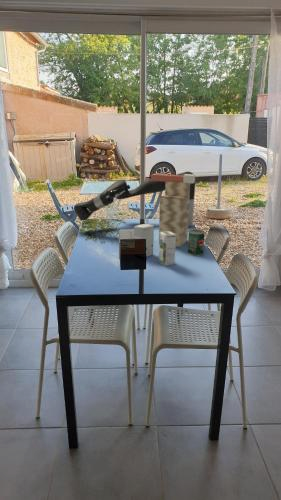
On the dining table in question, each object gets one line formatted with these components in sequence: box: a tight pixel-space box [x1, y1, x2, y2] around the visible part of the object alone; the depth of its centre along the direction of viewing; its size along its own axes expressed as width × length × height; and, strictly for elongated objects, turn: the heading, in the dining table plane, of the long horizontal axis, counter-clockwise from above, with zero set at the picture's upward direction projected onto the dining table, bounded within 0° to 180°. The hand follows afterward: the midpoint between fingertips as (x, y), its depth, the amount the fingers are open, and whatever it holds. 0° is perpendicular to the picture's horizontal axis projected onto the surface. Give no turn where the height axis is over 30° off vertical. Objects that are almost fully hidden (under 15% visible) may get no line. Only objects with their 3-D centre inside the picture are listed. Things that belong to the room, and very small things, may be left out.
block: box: [150, 173, 196, 184], centre depth 196 cm, size 23×4×4 cm, turn 67°
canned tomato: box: [187, 229, 206, 256], centre depth 184 cm, size 8×8×11 cm
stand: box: [158, 182, 190, 248], centre depth 197 cm, size 12×13×32 cm
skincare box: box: [133, 223, 155, 257], centre depth 180 cm, size 8×6×15 cm
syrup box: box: [158, 231, 176, 267], centre depth 170 cm, size 6×6×14 cm
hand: (126, 187), depth 204 cm, fingers open, 8 cm apart
